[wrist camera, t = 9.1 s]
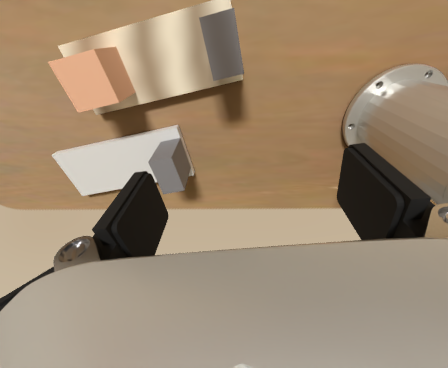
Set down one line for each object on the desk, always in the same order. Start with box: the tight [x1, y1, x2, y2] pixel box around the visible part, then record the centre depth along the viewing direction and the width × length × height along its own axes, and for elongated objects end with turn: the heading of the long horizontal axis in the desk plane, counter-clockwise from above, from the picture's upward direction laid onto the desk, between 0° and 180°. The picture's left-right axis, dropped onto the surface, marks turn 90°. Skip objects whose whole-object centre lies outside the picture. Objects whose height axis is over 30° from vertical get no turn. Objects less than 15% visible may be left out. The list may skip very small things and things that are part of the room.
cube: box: [48, 47, 135, 113], centre depth 24 cm, size 5×5×5 cm
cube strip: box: [58, 0, 244, 115], centre depth 23 cm, size 20×8×7 cm, turn 103°
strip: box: [52, 125, 195, 196], centre depth 31 cm, size 20×8×7 cm, turn 103°
